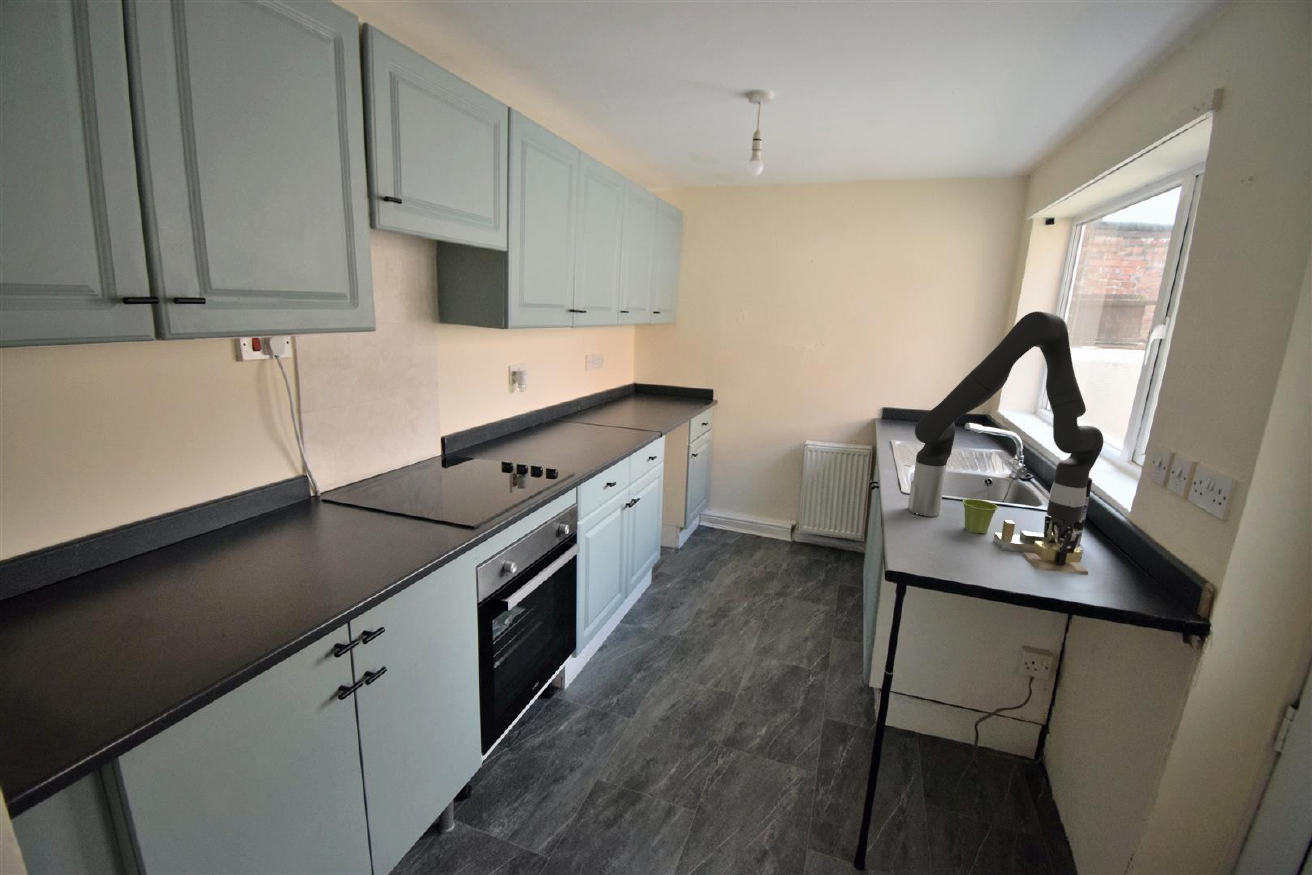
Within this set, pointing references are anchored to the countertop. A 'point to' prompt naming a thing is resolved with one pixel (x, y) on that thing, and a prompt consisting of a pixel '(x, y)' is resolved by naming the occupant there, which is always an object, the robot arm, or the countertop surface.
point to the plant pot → (978, 515)
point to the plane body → (1020, 539)
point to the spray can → (1080, 524)
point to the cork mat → (1053, 564)
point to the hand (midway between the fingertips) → (1054, 559)
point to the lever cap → (1053, 552)
